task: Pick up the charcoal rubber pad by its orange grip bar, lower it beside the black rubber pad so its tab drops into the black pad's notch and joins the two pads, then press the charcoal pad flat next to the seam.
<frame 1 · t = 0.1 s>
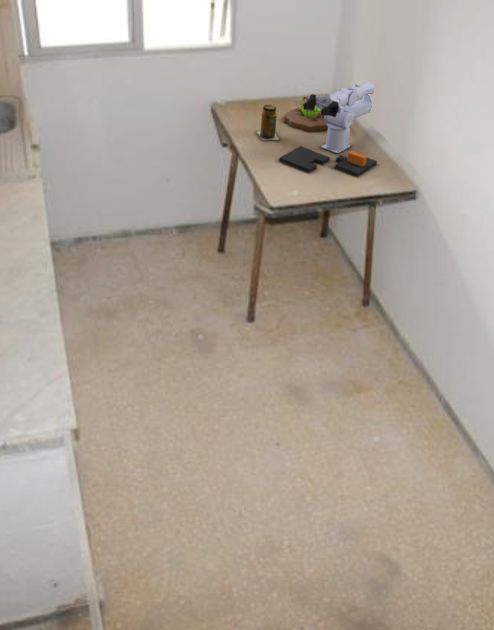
hand: (313, 109, 263), 22 cm above the table, tool horizontal, fingers open, 7 cm apart
condiment: (267, 136, 294), on the table
charcoal pad: (355, 166, 276), on the table
plant: (309, 122, 307), on the table
black pad: (304, 160, 278), on the table
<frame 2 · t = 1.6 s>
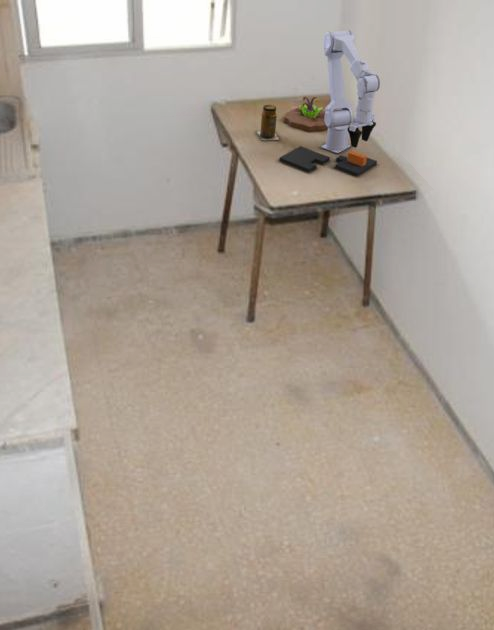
hand: (359, 143, 270), 9 cm above the table, tool pointing down, fingers open, 7 cm apart
nothing on the table moved.
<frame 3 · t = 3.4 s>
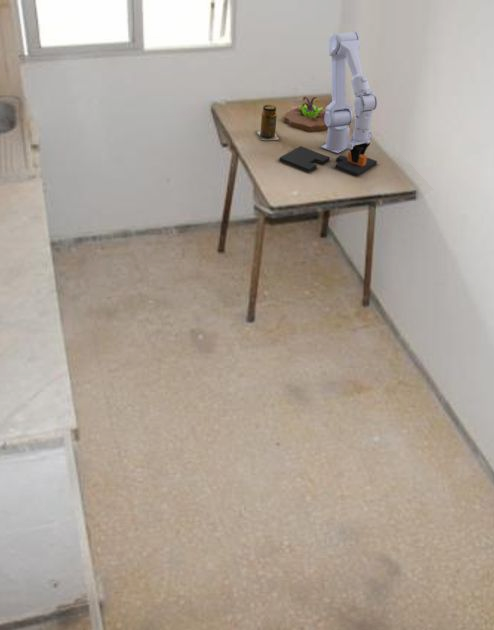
hand: (356, 160, 274), 2 cm above the table, tool pointing down, fingers closed on charcoal pad, 2 cm apart
charcoal pad: (355, 166, 276), on the table, touching gripper
everything else where it was.
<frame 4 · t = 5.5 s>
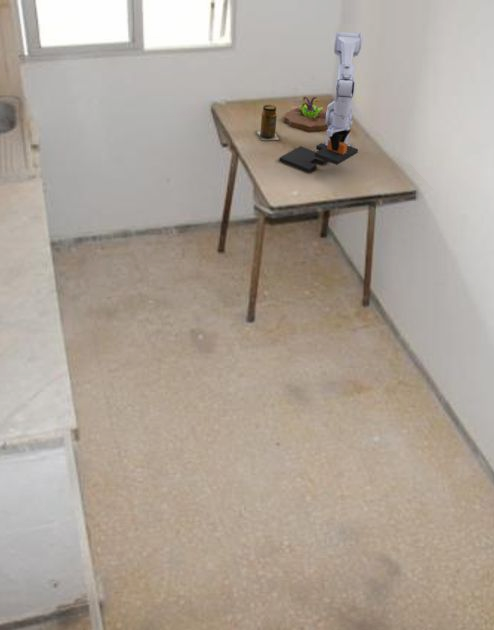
hand: (336, 148, 267), 9 cm above the table, tool pointing down, fingers closed on charcoal pad, 2 cm apart
charcoal pad: (336, 154, 268), point 7 cm above the table, touching gripper
everything else where it was.
when the fingers open (2 cm above the table, at t = 7.7 s): charcoal pad stays where it is, on the table.
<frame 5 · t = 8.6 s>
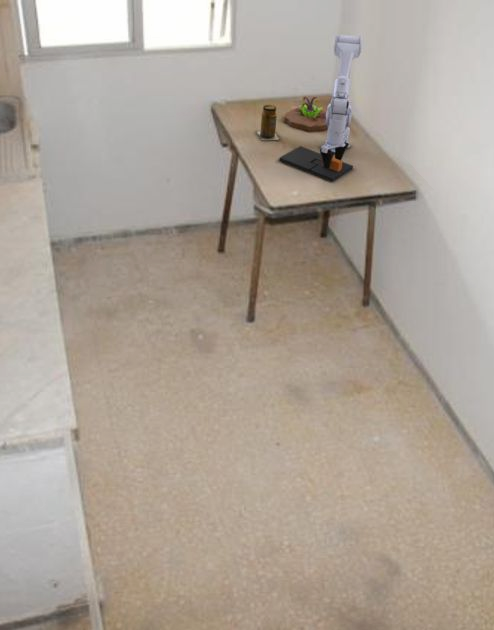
hand: (332, 164, 270), 3 cm above the table, tool pointing down, fingers open, 7 cm apart
charcoal pad: (331, 171, 272), on the table
everything else where it was.
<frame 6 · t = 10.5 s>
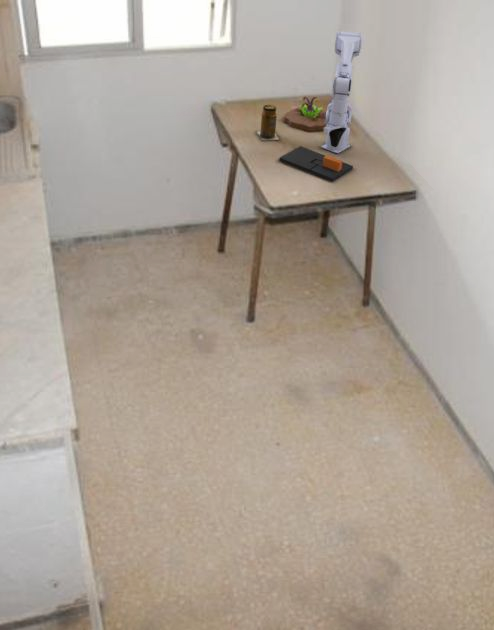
hand: (334, 145, 268), 9 cm above the table, tool pointing down, fingers closed
nothing on the table moved.
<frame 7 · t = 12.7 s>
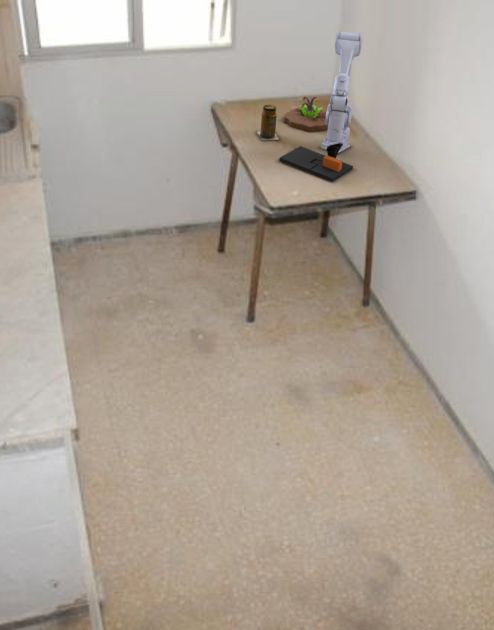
hand: (331, 160, 276), 1 cm above the table, tool pointing down, fingers closed, pressing on charcoal pad
charcoal pad: (331, 171, 272), on the table, touching gripper
everything else where it was.
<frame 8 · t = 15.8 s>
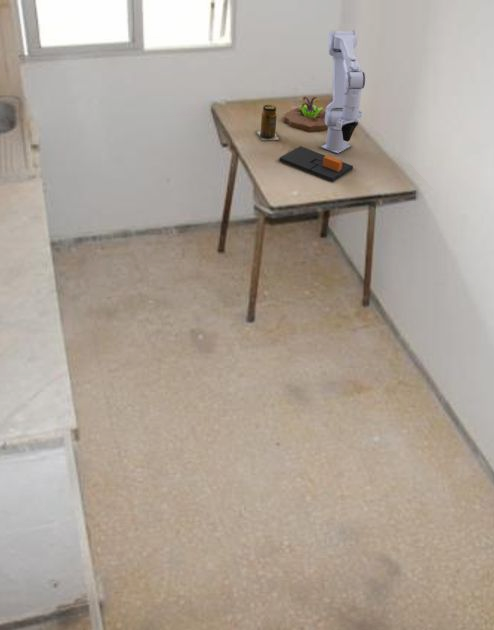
hand: (346, 140, 269), 10 cm above the table, tool pointing down, fingers closed
charcoal pad: (331, 171, 272), on the table
everything else where it was.
at the end: charcoal pad 0.1 cm from the target spot on the table beside the black pad, on the table; charcoal pad tilted 0°; the gripper is holding nothing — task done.
